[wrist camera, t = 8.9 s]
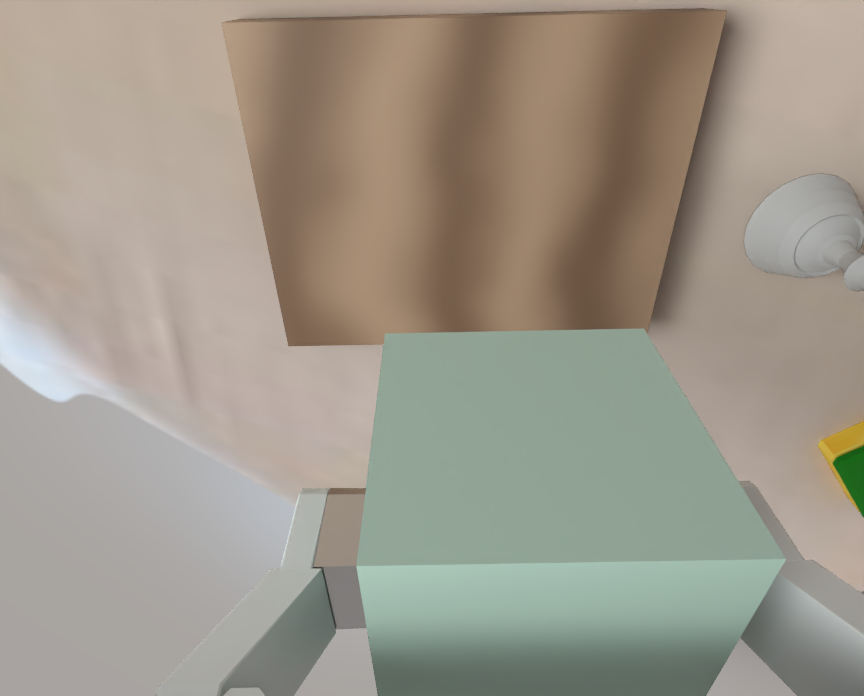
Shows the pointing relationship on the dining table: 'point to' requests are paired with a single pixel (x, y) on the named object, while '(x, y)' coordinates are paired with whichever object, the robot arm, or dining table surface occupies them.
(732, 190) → the dining table surface
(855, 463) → the dish sponge
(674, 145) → the walnut board
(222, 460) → the dining table surface
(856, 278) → the chalice
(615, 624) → the sage cube
